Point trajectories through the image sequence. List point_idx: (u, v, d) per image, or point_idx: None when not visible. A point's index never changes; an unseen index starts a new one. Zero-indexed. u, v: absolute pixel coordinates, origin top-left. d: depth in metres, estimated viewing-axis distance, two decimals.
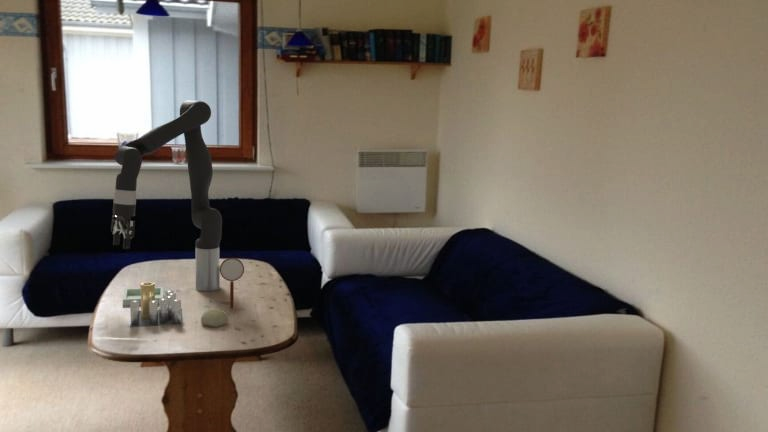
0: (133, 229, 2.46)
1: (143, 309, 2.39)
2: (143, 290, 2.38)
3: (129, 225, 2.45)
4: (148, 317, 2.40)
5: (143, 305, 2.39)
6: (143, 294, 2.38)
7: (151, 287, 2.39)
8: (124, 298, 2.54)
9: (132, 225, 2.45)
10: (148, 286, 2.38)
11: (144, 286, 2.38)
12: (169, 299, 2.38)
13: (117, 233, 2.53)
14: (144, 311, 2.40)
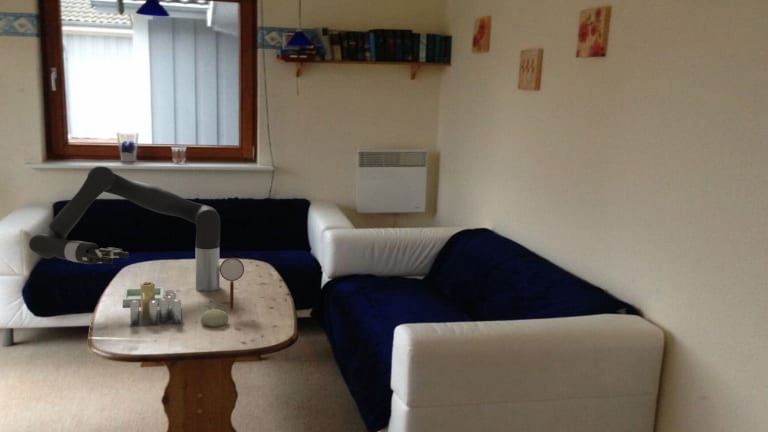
0: (88, 257, 2.37)
1: (143, 309, 2.39)
2: (143, 290, 2.38)
3: (85, 261, 2.38)
4: (148, 317, 2.40)
5: (143, 305, 2.39)
6: (143, 294, 2.38)
7: (151, 287, 2.39)
8: (124, 298, 2.54)
9: (85, 257, 2.38)
10: (148, 286, 2.38)
11: (144, 286, 2.38)
12: (169, 299, 2.38)
13: (117, 254, 2.47)
14: (144, 311, 2.40)
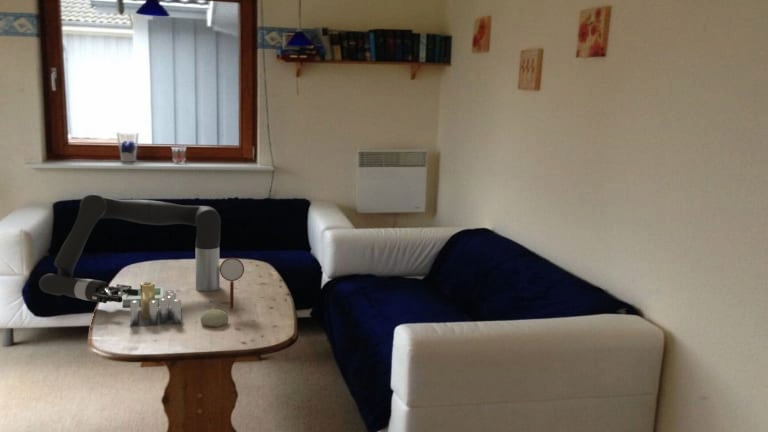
0: (98, 296, 2.39)
1: (143, 309, 2.39)
2: (143, 290, 2.38)
3: (95, 300, 2.40)
4: (148, 317, 2.40)
5: (143, 305, 2.39)
6: (143, 294, 2.38)
7: (151, 287, 2.39)
8: (124, 298, 2.54)
9: (95, 297, 2.39)
10: (148, 286, 2.38)
11: (144, 286, 2.38)
12: (169, 299, 2.38)
13: (127, 291, 2.48)
14: (144, 311, 2.40)
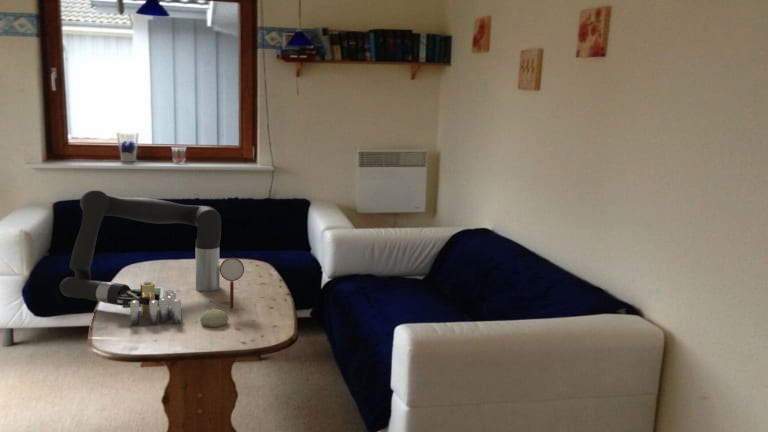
0: (125, 299, 2.36)
1: (143, 309, 2.39)
2: (143, 290, 2.38)
3: (121, 303, 2.37)
4: (148, 317, 2.40)
5: (143, 305, 2.39)
6: (143, 294, 2.38)
7: (151, 287, 2.39)
8: None
9: (121, 300, 2.37)
10: (148, 286, 2.38)
11: (144, 286, 2.38)
12: (169, 299, 2.38)
13: None
14: (144, 311, 2.40)
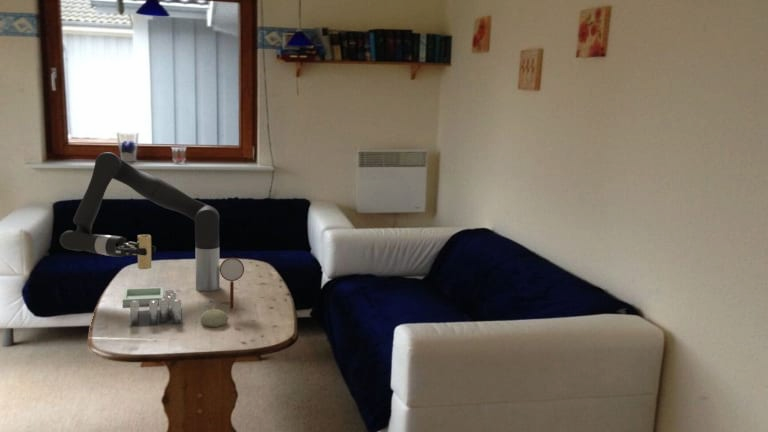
0: (123, 250, 2.49)
1: (140, 260, 2.52)
2: (140, 241, 2.50)
3: (119, 253, 2.49)
4: (145, 267, 2.52)
5: (140, 256, 2.51)
6: (140, 245, 2.51)
7: (148, 239, 2.51)
8: (124, 298, 2.54)
9: (119, 251, 2.49)
10: (145, 237, 2.50)
11: (141, 237, 2.50)
12: (169, 299, 2.38)
13: None
14: (141, 262, 2.52)
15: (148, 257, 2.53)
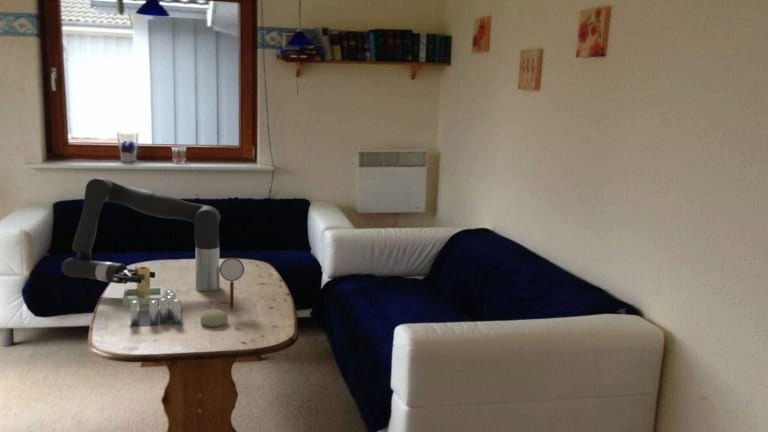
0: (119, 277, 2.55)
1: (139, 291, 2.58)
2: (139, 273, 2.57)
3: (116, 281, 2.55)
4: None
5: (139, 287, 2.58)
6: None
7: (146, 271, 2.58)
8: (124, 298, 2.54)
9: (116, 278, 2.55)
10: (143, 270, 2.57)
11: (140, 270, 2.57)
12: (169, 299, 2.38)
13: None
14: (140, 293, 2.59)
15: (147, 289, 2.59)
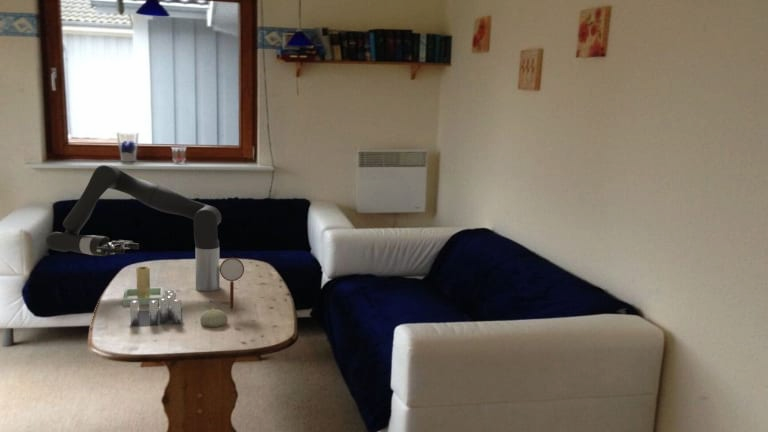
0: (102, 249, 2.58)
1: (139, 291, 2.59)
2: (139, 273, 2.57)
3: (99, 252, 2.59)
4: None
5: (139, 287, 2.58)
6: (139, 277, 2.58)
7: (146, 271, 2.58)
8: (124, 298, 2.54)
9: (99, 249, 2.59)
10: (143, 270, 2.57)
11: (140, 270, 2.57)
12: (169, 299, 2.38)
13: (128, 245, 2.68)
14: (140, 293, 2.59)
15: (147, 289, 2.59)
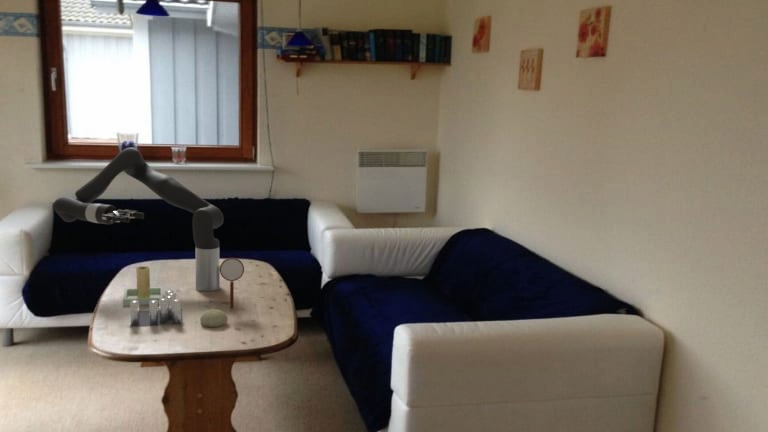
0: (107, 216, 2.60)
1: (139, 291, 2.59)
2: (139, 273, 2.57)
3: (104, 220, 2.61)
4: None
5: (139, 287, 2.58)
6: (139, 277, 2.58)
7: (146, 271, 2.58)
8: (124, 298, 2.54)
9: (104, 217, 2.61)
10: (143, 270, 2.57)
11: (140, 270, 2.57)
12: (169, 299, 2.38)
13: (133, 214, 2.70)
14: (140, 293, 2.59)
15: (147, 289, 2.59)
